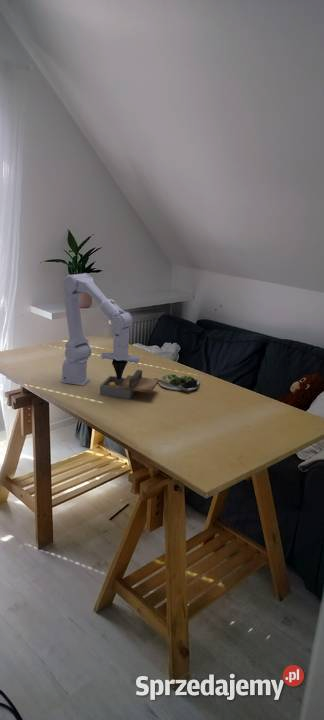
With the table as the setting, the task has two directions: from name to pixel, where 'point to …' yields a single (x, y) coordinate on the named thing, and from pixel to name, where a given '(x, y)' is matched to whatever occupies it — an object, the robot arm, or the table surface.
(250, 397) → the table surface
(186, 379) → the salad plate
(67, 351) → the robot arm
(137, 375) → the lid
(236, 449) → the table surface
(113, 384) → the ball
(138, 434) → the table surface
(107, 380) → the storage box
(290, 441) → the table surface
